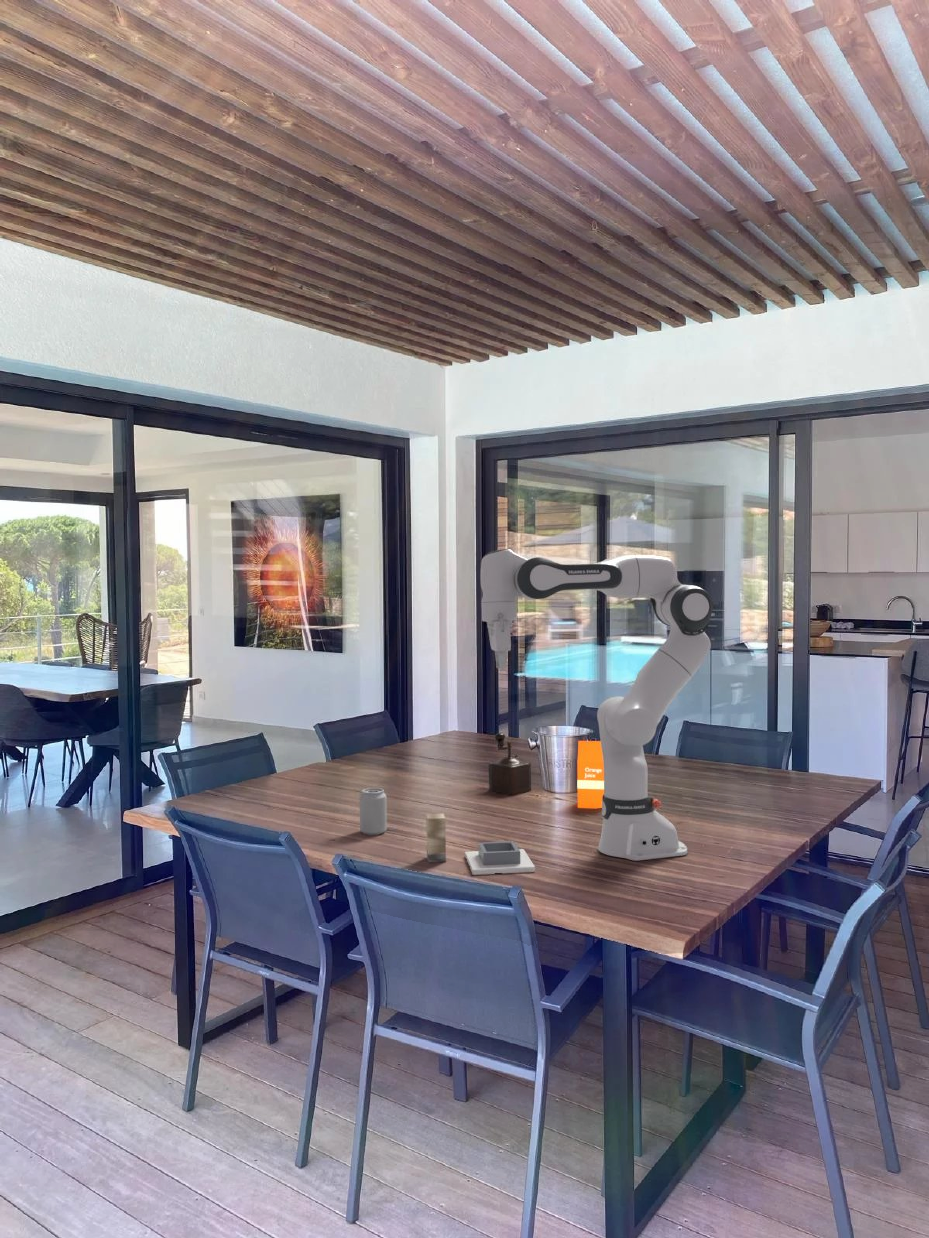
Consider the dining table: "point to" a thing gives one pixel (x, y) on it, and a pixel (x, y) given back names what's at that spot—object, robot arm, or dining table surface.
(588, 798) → the orange juice
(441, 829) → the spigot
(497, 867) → the dock
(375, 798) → the can
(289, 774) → the dining table surface
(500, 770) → the manual coffee grinder
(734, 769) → the dining table surface
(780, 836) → the dining table surface
